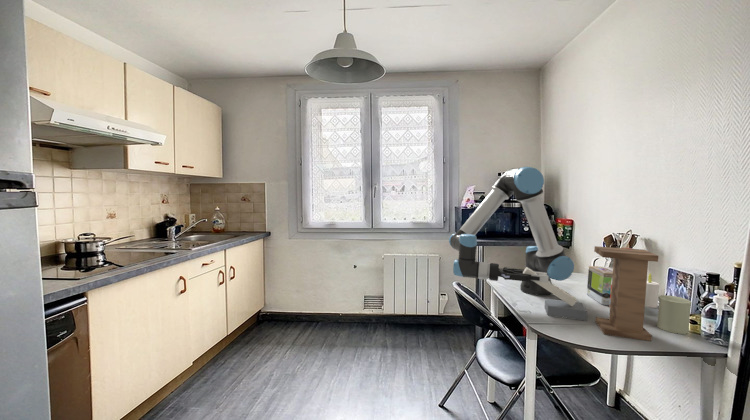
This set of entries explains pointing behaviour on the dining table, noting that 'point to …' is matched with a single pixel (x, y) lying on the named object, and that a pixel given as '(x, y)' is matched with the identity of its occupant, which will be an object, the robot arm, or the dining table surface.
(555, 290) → the domino bar
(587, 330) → the dining table surface
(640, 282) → the walnut pedestal
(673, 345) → the dining table surface
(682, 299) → the can
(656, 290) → the candle
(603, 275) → the tea box
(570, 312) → the charcoal platform
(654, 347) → the dining table surface
